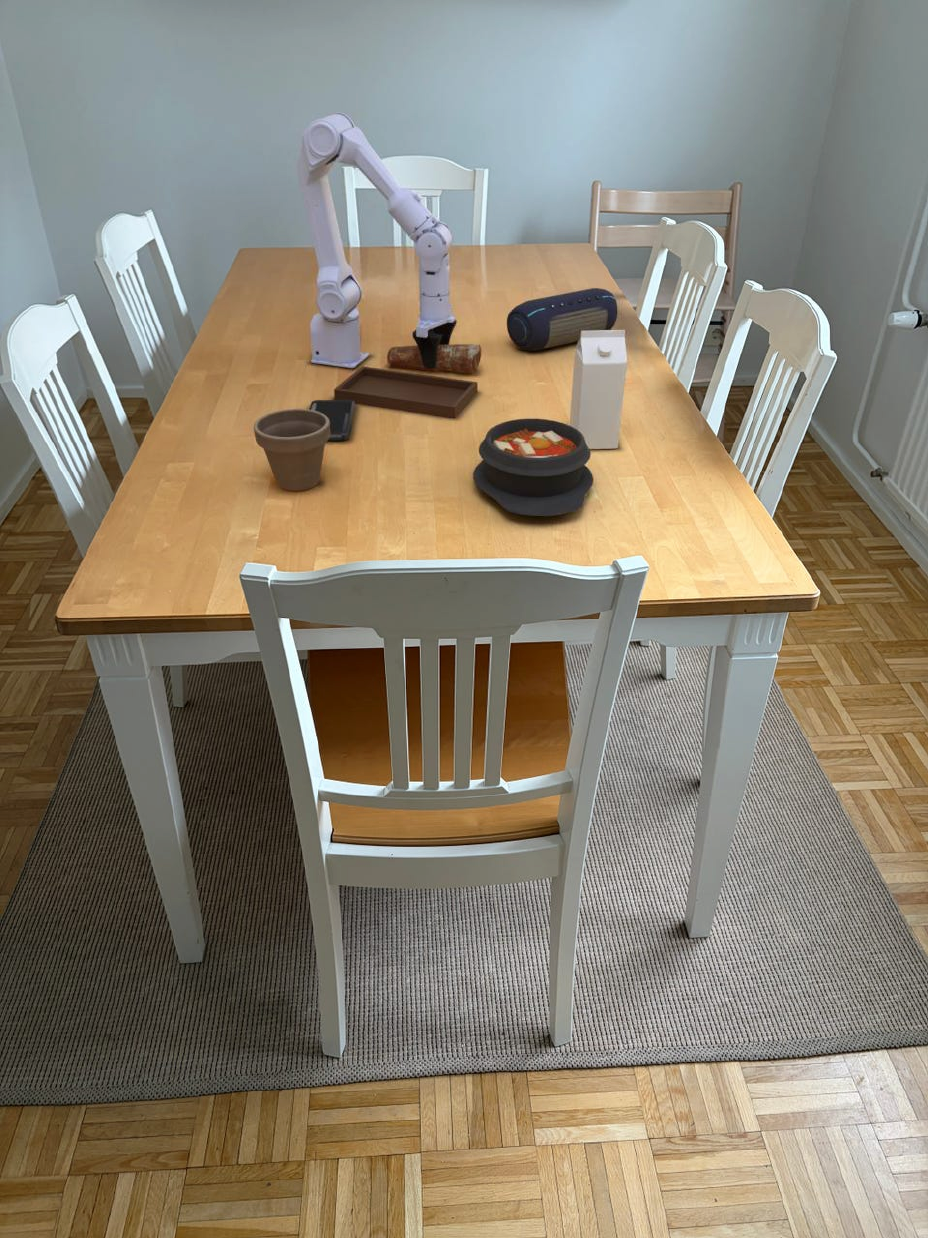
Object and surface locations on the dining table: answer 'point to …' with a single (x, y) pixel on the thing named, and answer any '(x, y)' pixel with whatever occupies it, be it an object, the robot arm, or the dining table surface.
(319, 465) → the flower pot
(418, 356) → the brown cylinder
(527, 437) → the casserole
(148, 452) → the dining table surface
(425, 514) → the dining table surface
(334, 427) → the phone
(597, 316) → the portable speaker
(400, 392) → the tray
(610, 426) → the milk carton
